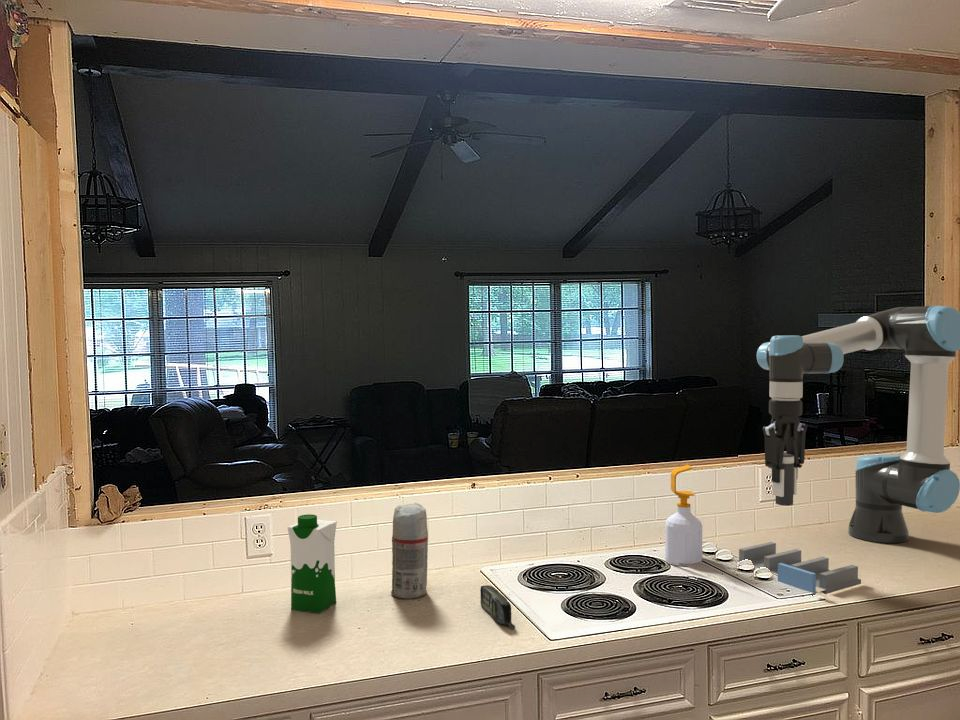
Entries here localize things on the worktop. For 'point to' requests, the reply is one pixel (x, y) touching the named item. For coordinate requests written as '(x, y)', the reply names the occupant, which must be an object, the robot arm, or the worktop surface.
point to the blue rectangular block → (797, 577)
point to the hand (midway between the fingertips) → (784, 494)
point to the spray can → (409, 551)
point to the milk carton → (312, 564)
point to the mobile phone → (496, 605)
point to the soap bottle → (682, 529)
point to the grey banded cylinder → (787, 481)
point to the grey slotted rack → (802, 566)
